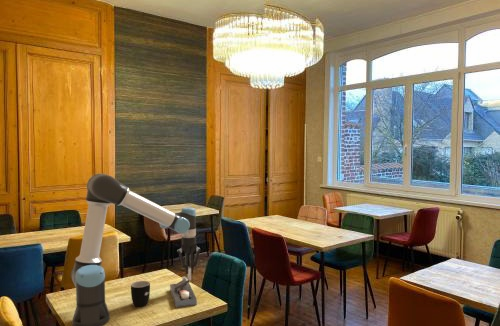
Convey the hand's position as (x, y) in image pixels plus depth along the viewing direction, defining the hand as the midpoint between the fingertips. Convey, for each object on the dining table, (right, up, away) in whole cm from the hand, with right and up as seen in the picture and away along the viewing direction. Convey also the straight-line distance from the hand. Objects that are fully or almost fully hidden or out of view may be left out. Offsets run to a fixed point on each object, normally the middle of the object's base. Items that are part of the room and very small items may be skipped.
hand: (189, 279), depth 203 cm
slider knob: (-3, -2, -1) cm, 3 cm away
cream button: (+1, -3, -19) cm, 20 cm away
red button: (-1, -5, -14) cm, 15 cm away
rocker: (-3, 0, -8) cm, 9 cm away
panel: (-2, -5, -11) cm, 13 cm away
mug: (-20, -6, -19) cm, 28 cm away
